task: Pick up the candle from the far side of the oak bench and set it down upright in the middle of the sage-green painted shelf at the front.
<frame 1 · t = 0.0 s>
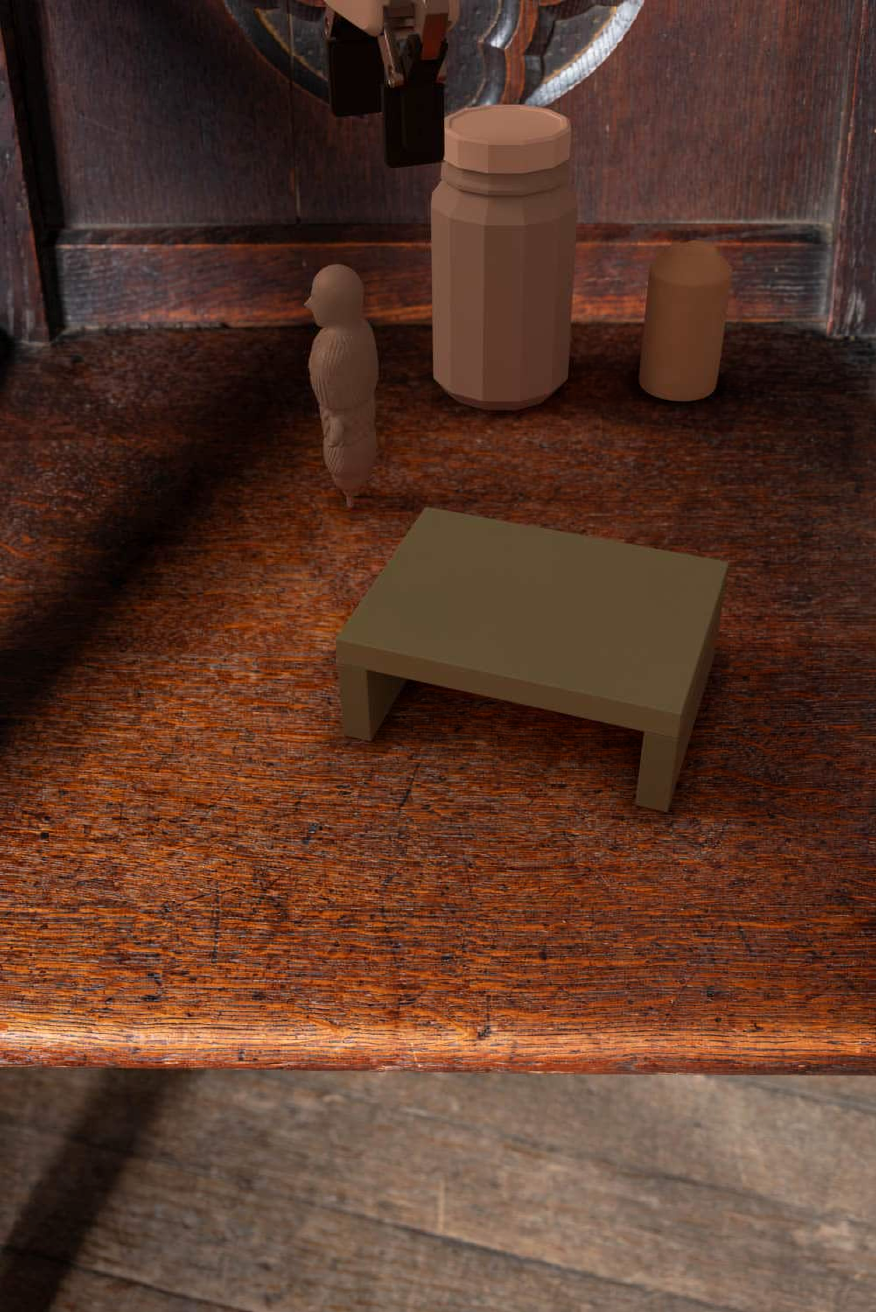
hand: (384, 137, 69), 20 cm above the bench, tool pointing down, fingers open, 9 cm apart
figurine: (351, 504, 78), on the bench
jar: (499, 387, 90), on the bench
candle: (676, 387, 90), on the bench
shelf: (535, 694, 63), on the bench
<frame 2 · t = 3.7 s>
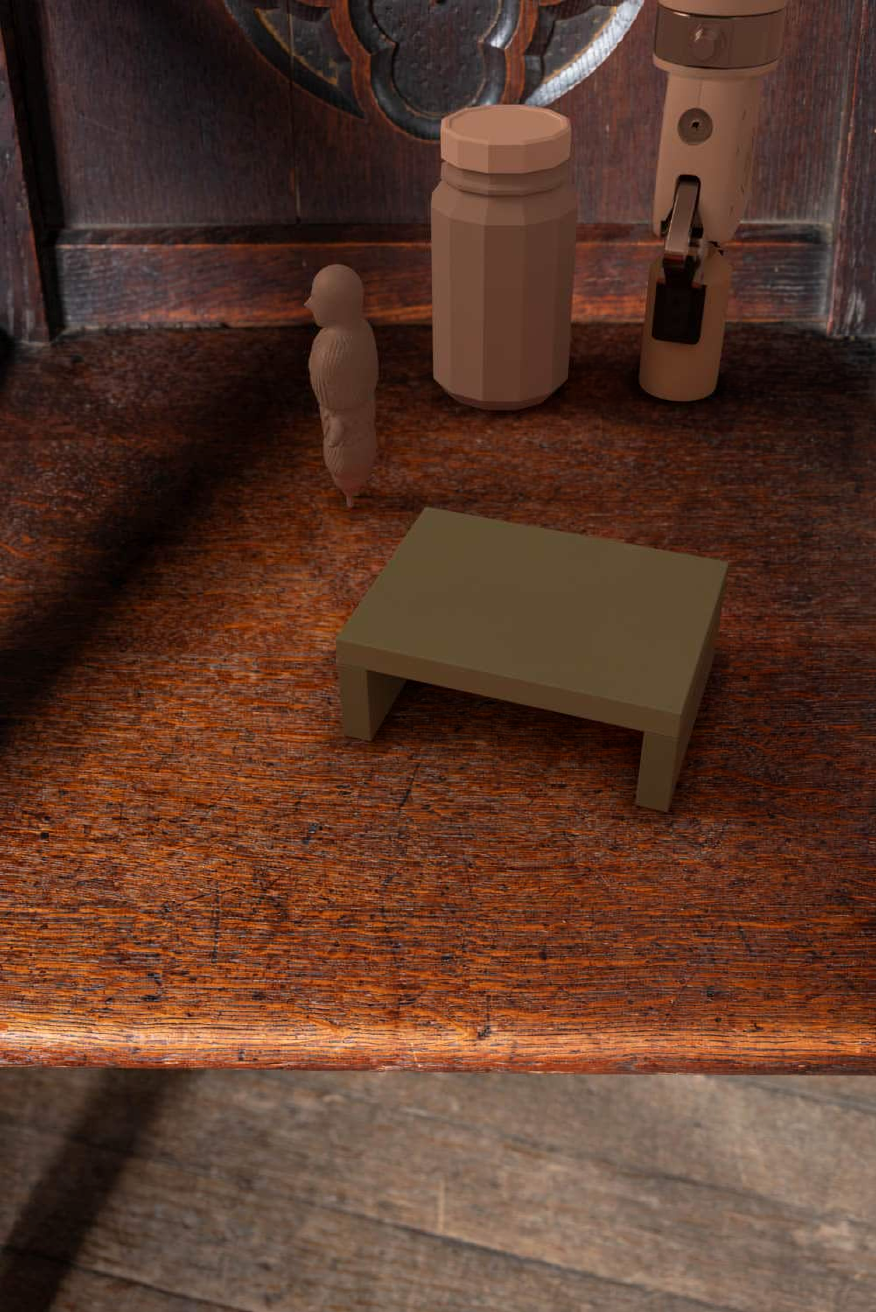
hand: (684, 319, 87), 5 cm above the bench, tool pointing down, fingers closed on candle, 5 cm apart
candle: (676, 387, 90), on the bench, touching gripper
everything else where it was.
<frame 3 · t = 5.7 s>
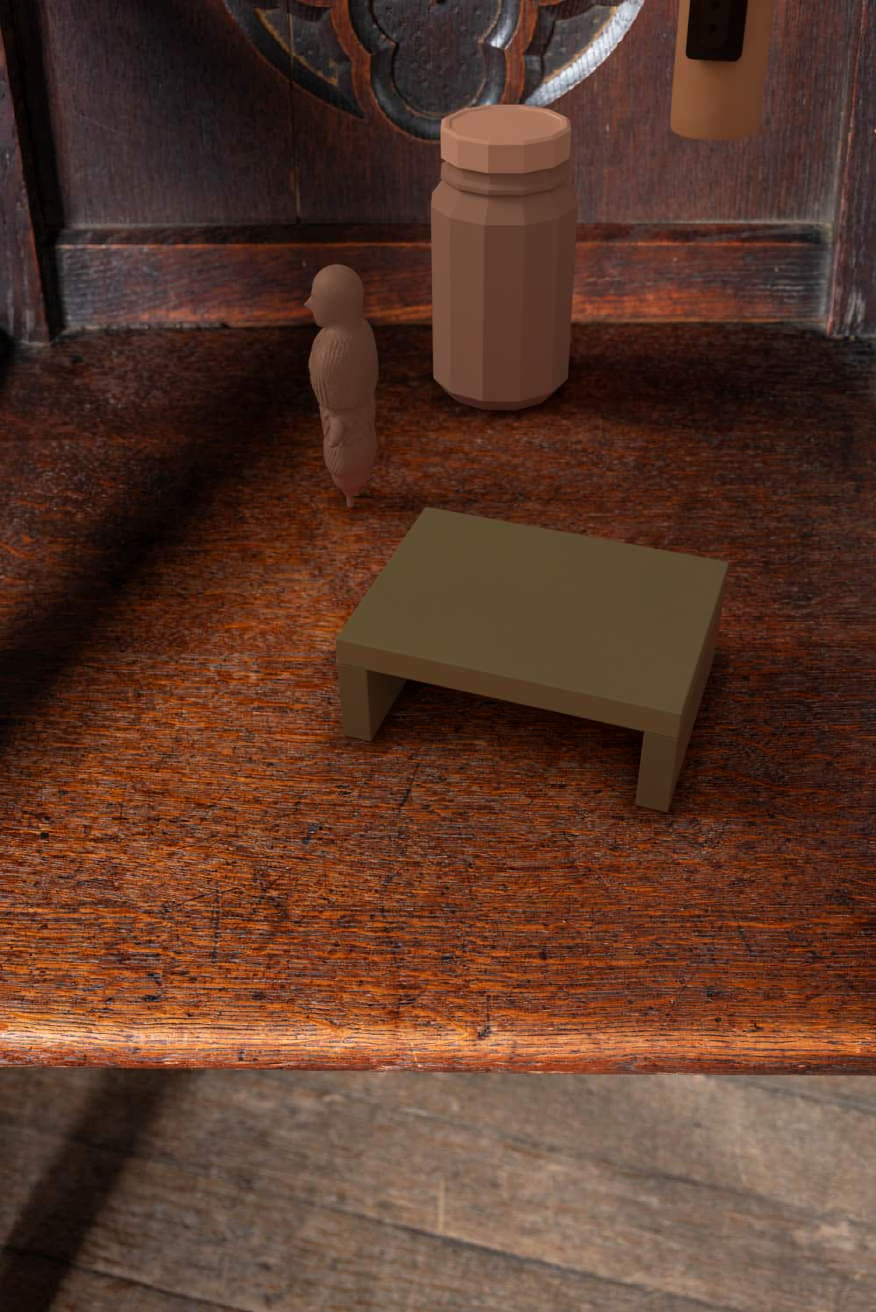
hand: (723, 43, 75), 23 cm above the bench, tool pointing down, fingers closed on candle, 5 cm apart
candle: (713, 132, 78), point 17 cm above the bench, touching gripper
everything else where it was.
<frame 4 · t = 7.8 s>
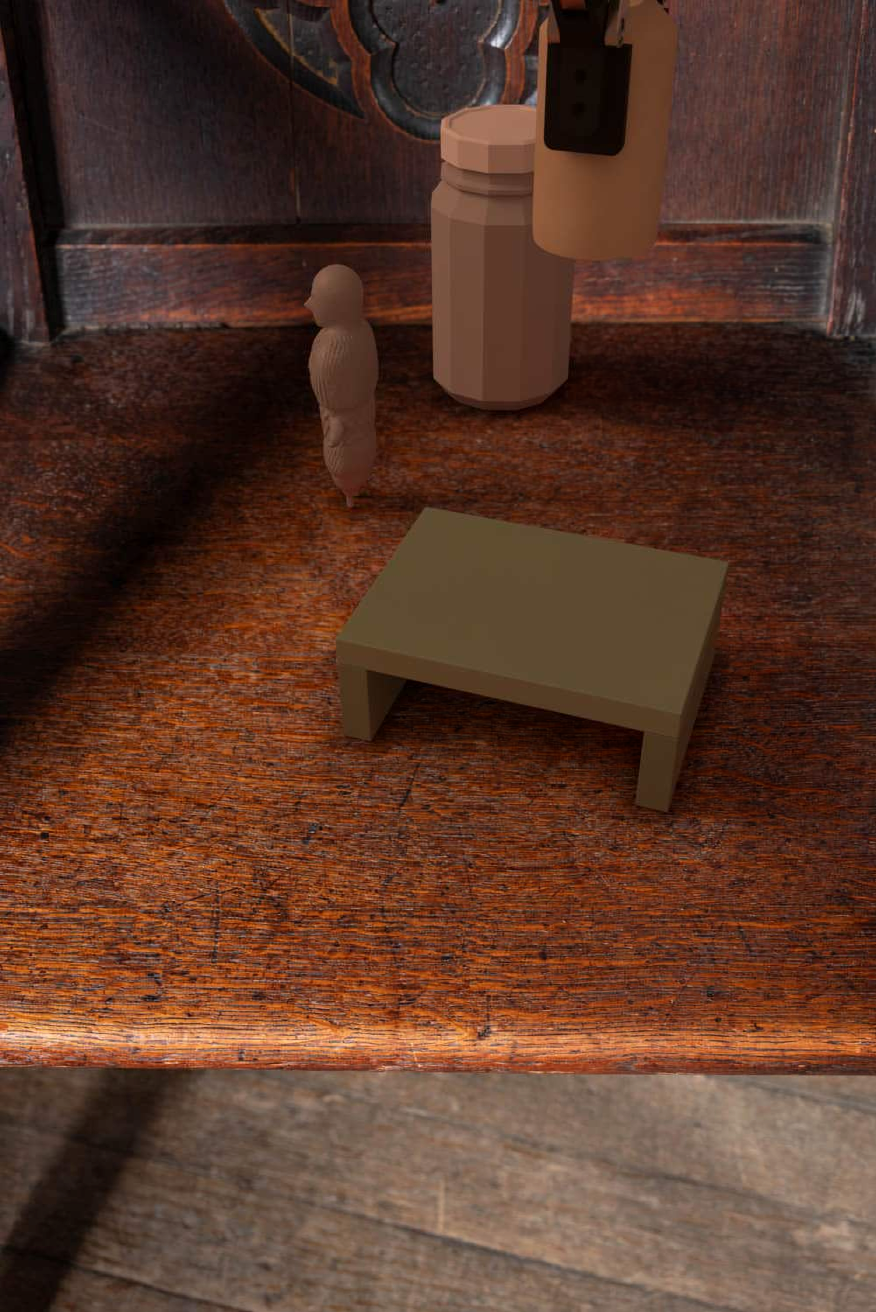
hand: (603, 124, 52), 26 cm above the bench, tool pointing down, fingers closed on candle, 5 cm apart
candle: (593, 243, 56), point 21 cm above the bench, touching gripper
everything else where it was.
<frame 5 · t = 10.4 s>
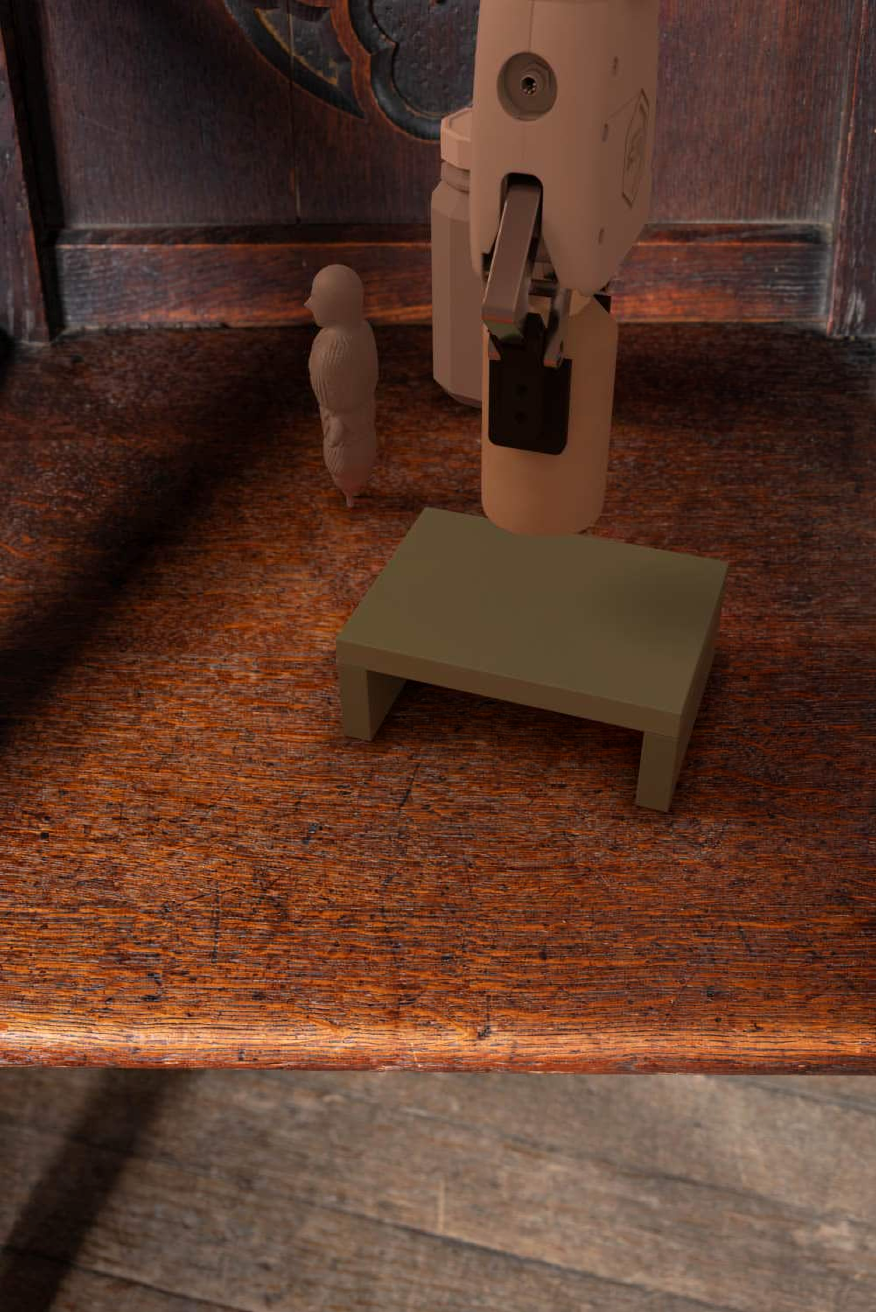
hand: (548, 408, 53), 16 cm above the bench, tool pointing down, fingers closed on candle, 5 cm apart
candle: (542, 509, 57), point 11 cm above the bench, touching gripper
everything else where it was.
when the fingers open (11 cm above the bench, at t = 12.1 s): candle stays where it is, resting on shelf.
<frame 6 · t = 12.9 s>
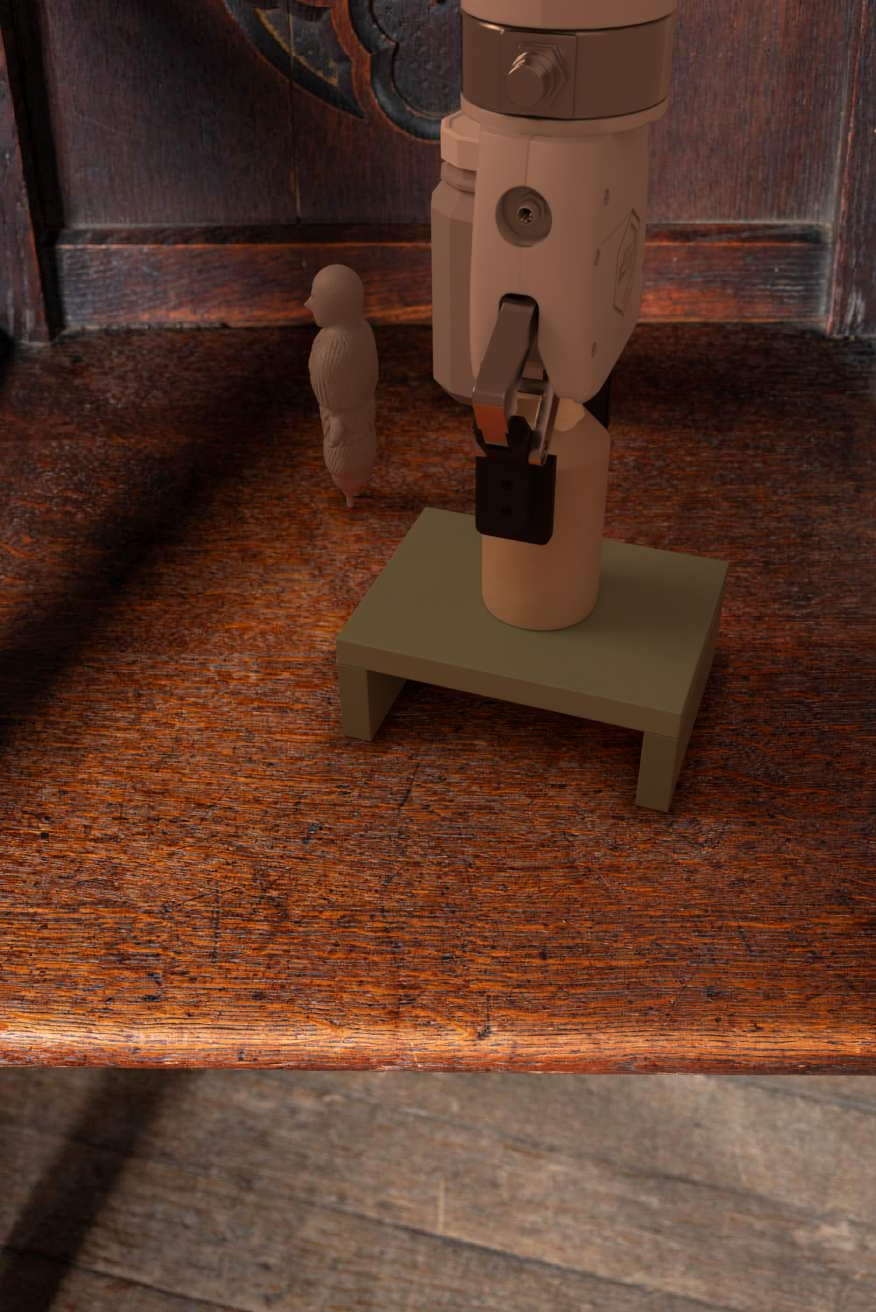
hand: (546, 478, 56), 13 cm above the bench, tool pointing down, fingers open, 9 cm apart
candle: (539, 600, 60), point 6 cm above the bench, touching shelf
everything else where it was.
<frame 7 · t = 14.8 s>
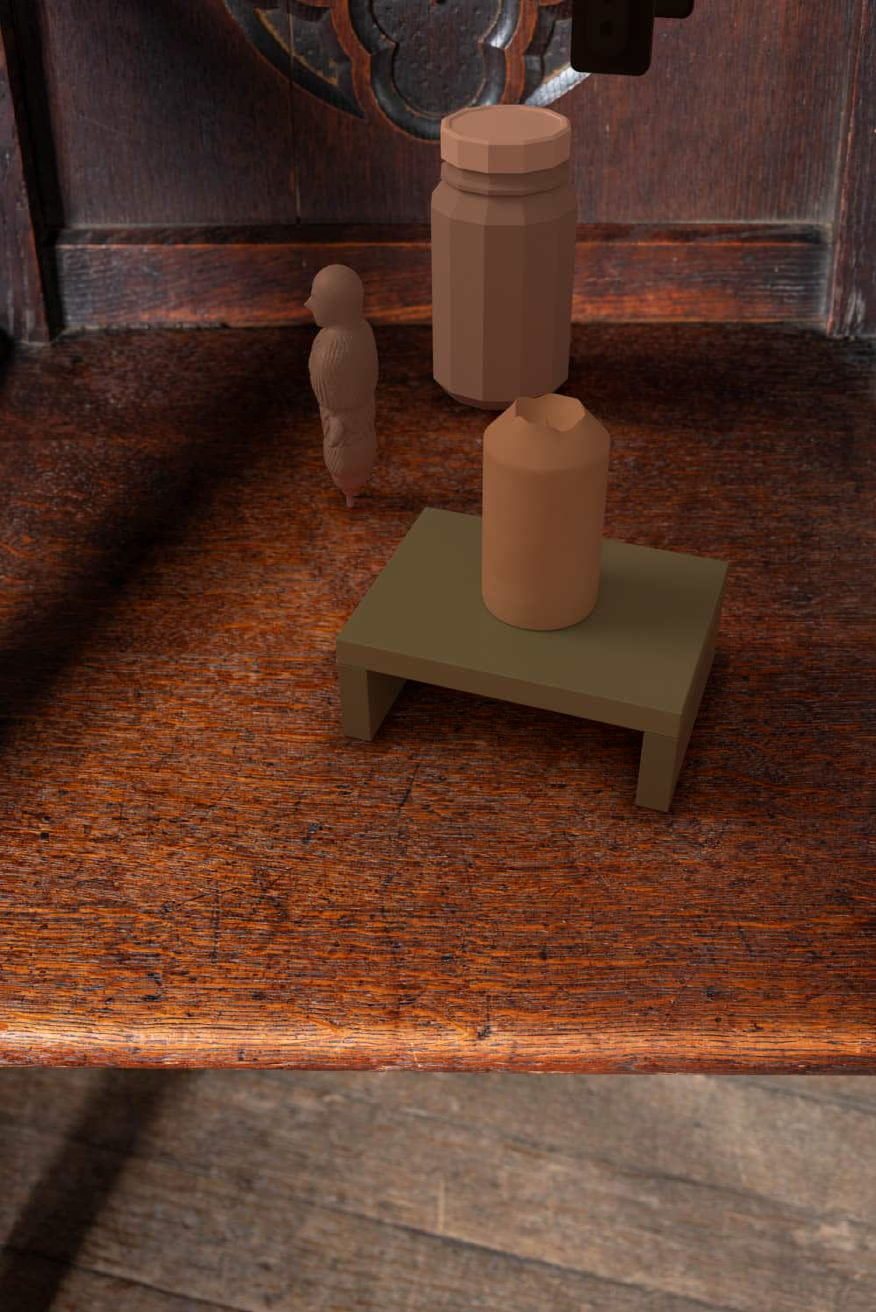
hand: (635, 42, 54), 28 cm above the bench, tool pointing down, fingers open, 9 cm apart
nothing on the bench moved.
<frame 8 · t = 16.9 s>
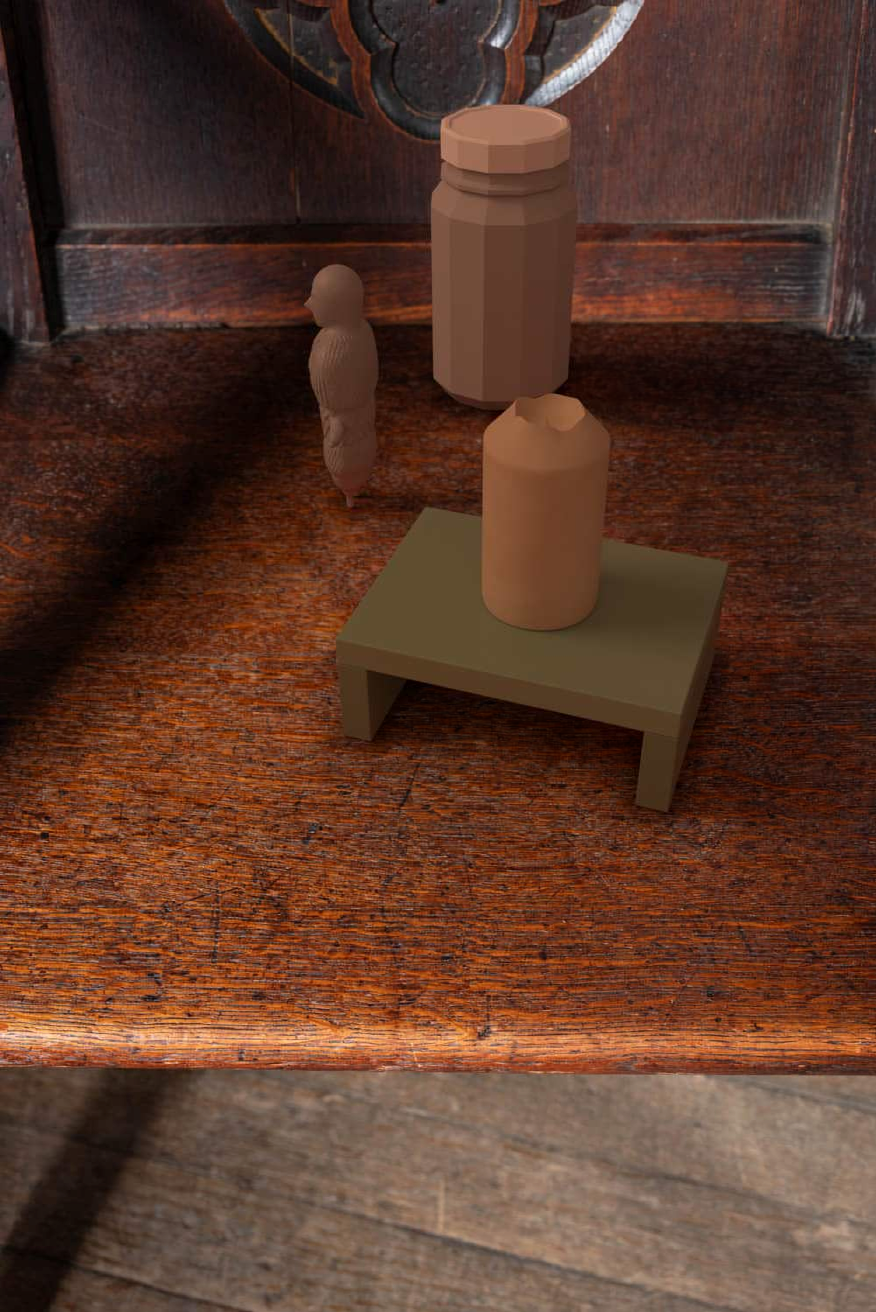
nothing on the bench moved.
at the end: candle inside the target area on the shelf (0.1 cm from its centre), point 5.8 cm above the shelf's base; candle tilted 0° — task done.
